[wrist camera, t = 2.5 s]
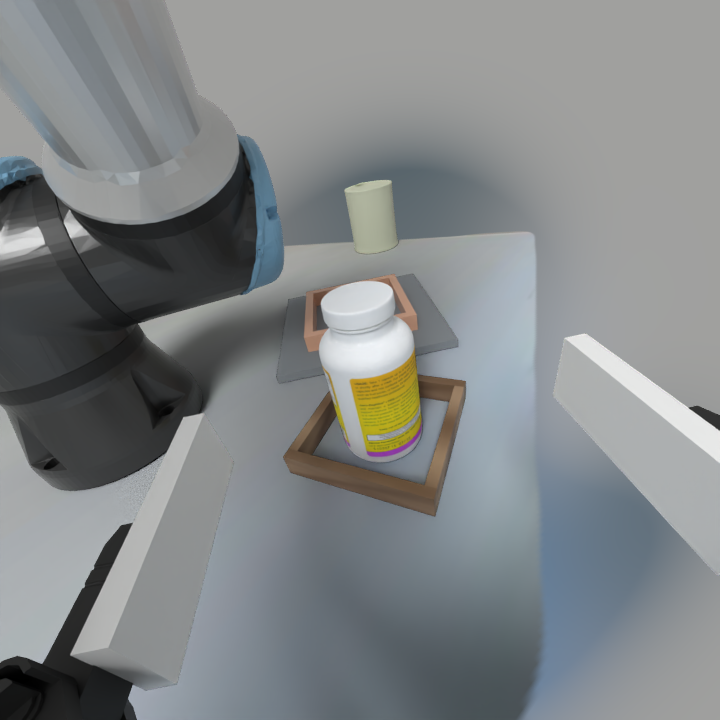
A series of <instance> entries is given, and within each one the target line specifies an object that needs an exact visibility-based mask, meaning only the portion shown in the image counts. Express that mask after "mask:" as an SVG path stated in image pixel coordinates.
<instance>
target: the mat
mask: <svg viewBox="0 0 720 720" xmlns="http://www.w3.org/2000/svg"><path fill="white" fill-rule="evenodd" d="M396 278H397V280H398V282H399V283H400V285H401V287H402V289H403V291H404V293H405V294H406V296H407V298H408V300H409V302H410V303H411V305H412V307H413V309H414V311H415V312H416V314H417V325H418V330H414V331H412V334H413V337H414V345H415V355H420V354H425V353H430V352H435V351H439V350H444V349H449V348H454V347H458V338H457V337H456V335H455V334H454V333H453V331H452V330H451V328H450V327H449V325H448V324H447V322H446V321H445V319H444V318H443V316H442V315H441V314H440V312H439V311H438V309H437V308H436V306H435V305H434V303H433V302H432V300H431V299H430V297H429V296H428V295H427V293H426V292H425V290H424V289H423V287H422V286H421V284H420V283H419V281H418V280H417V278H416V277H415V276H414V274H409V275H404V276H399V277H396ZM305 310H306V296H303V297H298V298H293V299H288V306H287V312H286V318H285V325H284V331H283V337H282V344H281V350H280V357H279V363H278V369H277V376H276V377H277V379H278V382H279V383H284V382H289V381H294V380H298V379H303V378H308V377H313V376H318V375H323V374H325V373H324V370H323V367H322V363H321V360H320V356H319V350H317V351H312V352H308V349H307V346H306V343H305V339H304V329H305ZM396 314H401V312H400V310H399V308H398V306H397V304H396V302H395V311H394V315H396ZM328 328H329V327H328V326H327V324H326V323H325V322H324V319H323V313H322V309H321V305H319V306H317V331H318V330H323V329H328Z"/></svg>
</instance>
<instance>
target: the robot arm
mask: <svg viewBox="0 0 720 720" xmlns="http://www.w3.org/2000/svg"><path fill="white" fill-rule="evenodd" d="M0 89H1V90H2V91H3V92H4V93H5V95H6V96H7V97H8V98H9V99H10V100H11V102H12V103H13V104H14V105H15V106H16V108H17V109H18V110H19V111H20V112H21V113H22V115H23V116H24V117H25V118H26V119H27V120H28V122H29V123H30V124H31V125H32V126H33V127H34V129H35V130H36V131H37V132H38V133H39V134H40V136H41V137H42V138H43V139H44V140H45V143H44V147H43V152H42V169H41V168H39V167H38V166H36V165H35V163H34V162H33V161H31V160H30V159H28V158H26V157H22V156H11V157H2V158H0V405H1V406H2V407H3V408H4V409H5V411H6V412H7V414H8V417H9V419H10V421H11V424H12V426H13V428H14V430H15V433H16V435H17V437H18V440H19V442H20V444H21V447H22V449H23V451H24V453H25V456H26V458H27V460H28V463H29V465H30V466H31V468H32V469H33V470H34V471H35V472H36V473H37V474H38V475H39V476H40V477H42V478H43V479H44V480H45V481H46V482H48V483H49V484H50V485H51V486H53V487H55V488H57V489H61V490H68V491H76V490H85V489H90V488H94V487H98V486H102V485H105V484H108V483H110V482H113V481H115V480H118V479H120V478H122V477H125V476H127V475H129V474H131V473H133V472H134V471H136V470H138V469H140V468H142V467H143V466H145V465H147V464H148V463H150V462H151V461H153V460H154V459H156V458H157V457H158V456H160V455H161V454H162V453H164V452H165V451H166V450H167V449H168V451H167V453H166V455H165V457H164V459H163V461H162V463H161V465H160V468H159V470H158V472H157V474H156V476H155V478H154V480H153V482H152V484H151V486H150V488H149V491H148V493H147V495H146V497H145V499H144V501H143V503H142V505H141V507H140V509H139V512H138V514H137V516H136V518H135V520H134V522H133V523H130V524H126V525H121V526H120V528H119V529H118V530H117V531H116V532H115V534H114V535H113V536H112V537H111V538H110V540H109V541H108V542H107V543H106V544H105V546H104V548H103V550H102V552H101V553H100V555H99V557H98V559H97V561H96V563H95V565H94V570H92V571H91V573H90V575H89V577H88V578H87V580H86V582H85V587H84V588H82V590H81V592H80V594H79V596H78V598H77V600H76V602H75V603H74V605H73V607H72V609H71V611H70V613H69V615H68V617H67V619H66V621H65V623H64V625H63V627H62V628H61V630H60V632H59V634H58V636H57V638H56V640H55V642H54V644H53V646H52V648H51V650H50V652H49V653H48V655H47V657H46V659H45V661H44V662H43V664H40V663H37V662H35V661H33V660H30V659H28V658H24V657H20V656H16V657H13V658H10V659H7V660H4V661H2V662H1V663H0V720H137V719H136V715H135V712H134V709H133V706H132V705H131V703H130V702H129V700H128V697H129V694H130V691H131V688H132V685H135V686H137V687H139V688H142V689H144V690H146V691H147V690H152V689H157V688H162V687H167V686H172V685H177V683H178V679H179V675H180V671H181V668H182V664H183V660H184V656H185V652H186V648H187V644H188V640H189V636H190V632H191V628H192V624H193V621H194V617H195V613H196V609H197V605H198V601H199V597H200V593H201V589H202V585H203V581H204V577H205V574H206V570H207V566H208V562H209V558H210V554H211V550H212V546H213V542H214V538H215V534H216V530H217V527H218V523H219V519H220V515H221V511H222V507H223V503H224V499H225V495H226V491H227V487H228V483H229V480H230V476H231V472H232V468H233V464H234V461H233V459H232V458H231V456H230V455H229V453H228V451H227V450H226V448H225V446H224V445H223V443H222V441H221V440H220V438H219V436H218V435H217V433H216V432H215V430H214V428H213V427H212V425H211V423H210V422H209V420H208V418H207V417H206V415H205V413H202V414H198V413H199V411H200V408H201V405H202V392H201V390H200V388H199V386H198V385H197V383H196V381H195V380H194V378H193V376H192V375H191V374H190V373H189V372H188V371H187V370H186V369H185V368H184V367H182V366H181V365H180V364H179V363H177V362H176V361H175V360H174V359H172V358H171V357H170V356H169V355H167V354H166V353H165V352H164V351H162V350H161V349H160V348H159V347H157V346H156V345H155V344H153V343H152V342H151V341H150V340H149V339H148V338H147V337H146V335H145V334H144V333H143V331H142V329H141V328H140V326H139V325H138V323H141V322H145V321H148V320H151V319H154V318H158V317H161V316H165V315H168V314H172V313H176V312H179V311H183V310H186V309H190V308H194V307H197V306H201V305H204V304H208V303H212V302H215V301H219V300H222V299H226V298H229V297H233V296H237V295H244V294H247V293H249V292H250V291H252V289H255V288H258V287H261V286H264V285H267V284H269V283H272V282H273V281H275V280H276V279H277V278H278V277H279V276H280V274H281V272H282V269H283V265H284V244H283V234H282V228H281V222H280V218H279V216H278V213H277V204H276V198H275V193H274V189H273V185H272V181H271V178H270V175H269V172H268V168H267V166H266V163H265V160H264V158H263V155H262V153H261V151H260V149H259V147H258V145H257V144H256V143H255V141H254V140H253V139H251V138H250V137H247V136H240V135H238V134H236V131H235V128H234V126H233V124H232V122H231V121H230V120H229V118H228V117H227V115H226V114H225V113H224V112H223V111H222V110H221V109H220V108H219V107H217V106H216V105H215V104H214V103H212V102H210V101H209V100H207V99H206V98H204V97H202V96H200V95H198V93H197V90H196V88H195V84H194V82H193V79H192V76H191V73H190V70H189V68H188V65H187V62H186V59H185V56H184V54H183V51H182V48H181V45H180V42H179V40H178V37H177V34H176V31H175V29H174V25H173V23H172V20H171V17H170V14H169V12H168V9H167V6H166V3H165V0H0ZM553 397H554V398H555V399H556V400H557V401H558V402H559V403H560V404H561V406H562V407H563V408H564V409H565V410H566V411H567V412H568V413H569V414H570V415H571V416H572V418H573V419H574V420H575V421H576V422H577V423H578V424H579V425H580V426H581V427H582V429H584V431H585V432H586V433H587V434H588V435H589V436H590V437H591V438H592V439H593V440H594V442H595V443H596V444H597V445H598V446H599V447H600V448H601V449H602V450H603V451H604V453H605V454H606V455H607V456H608V457H609V458H610V459H611V460H612V461H613V462H614V463H615V465H616V466H617V467H618V468H619V469H620V470H621V471H622V472H623V473H624V474H625V476H626V477H627V478H628V479H629V480H630V481H631V482H632V483H633V484H634V485H635V486H636V488H637V489H638V490H639V491H640V492H641V493H642V494H643V495H644V496H645V497H646V499H647V500H648V501H649V502H650V503H651V504H652V505H653V506H654V507H655V508H656V509H657V511H658V512H659V513H660V514H661V515H662V516H663V517H664V518H665V519H666V520H667V521H668V522H669V524H670V525H671V526H672V527H673V528H674V529H675V530H676V531H677V532H678V534H680V536H681V537H682V538H683V539H684V540H685V541H686V542H687V543H688V544H689V546H690V547H691V548H692V549H693V550H694V551H695V552H696V553H697V554H698V555H699V556H700V558H701V559H702V560H703V561H704V562H705V563H706V564H707V565H708V566H709V567H710V568H711V570H713V572H714V573H715V574H716V575H717V576H719V575H720V415H718V414H715V413H713V412H711V411H709V410H706V409H704V408H702V407H699V406H694V407H690V408H688V407H686V406H685V405H683V404H682V403H681V402H679V401H678V400H677V399H675V398H674V397H672V396H671V395H670V394H668V393H667V392H666V391H664V390H663V389H661V388H660V387H659V386H657V385H656V384H655V383H653V382H652V381H650V380H649V379H648V378H646V377H645V376H644V375H642V374H641V373H639V372H638V371H637V370H635V369H634V368H632V367H631V366H630V365H628V364H627V363H626V362H624V361H623V360H621V359H620V358H619V357H617V356H616V355H615V354H613V353H612V352H610V351H609V350H608V349H606V348H605V347H603V346H602V345H601V344H599V343H598V342H597V341H595V340H594V339H593V338H591V337H590V336H588V335H587V334H586V333H585V334H581V335H576V336H571V337H567V338H564V342H563V347H562V352H561V357H560V362H559V367H558V372H557V377H556V382H555V387H554V392H553Z"/></svg>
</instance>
